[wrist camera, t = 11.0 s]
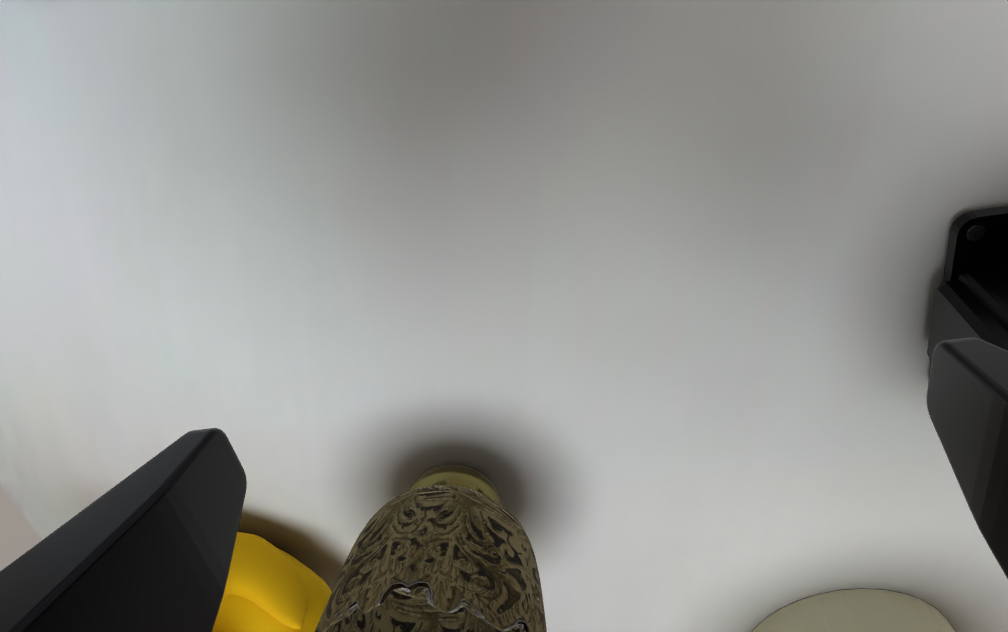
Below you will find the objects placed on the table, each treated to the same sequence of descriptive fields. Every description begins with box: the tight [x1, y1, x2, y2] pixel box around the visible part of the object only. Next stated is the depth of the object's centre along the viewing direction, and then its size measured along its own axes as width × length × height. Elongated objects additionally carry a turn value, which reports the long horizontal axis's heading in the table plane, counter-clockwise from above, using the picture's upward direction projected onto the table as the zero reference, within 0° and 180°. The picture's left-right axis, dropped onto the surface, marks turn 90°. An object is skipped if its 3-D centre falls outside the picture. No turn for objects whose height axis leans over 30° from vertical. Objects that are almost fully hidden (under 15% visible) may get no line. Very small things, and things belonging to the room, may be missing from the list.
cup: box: [315, 465, 547, 632], centre depth 25 cm, size 8×7×8 cm
